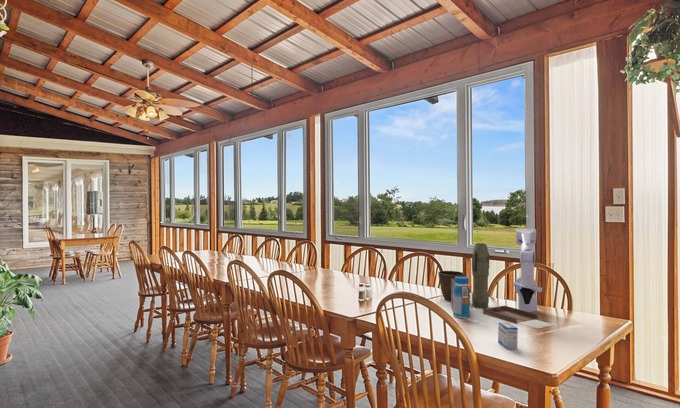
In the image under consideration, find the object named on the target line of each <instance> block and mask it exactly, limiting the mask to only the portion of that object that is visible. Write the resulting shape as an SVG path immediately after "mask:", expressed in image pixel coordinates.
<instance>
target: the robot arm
mask: <svg viewBox="0 0 680 408" xmlns="http://www.w3.org/2000/svg"><path fill="white" fill-rule="evenodd" d="M515 241H516V245H519V246H520V253H519V261H520V262H519V263H520V276H519V277H517V278H516V280H515V282H513V285H512V286H513V287H515V293H516V294H517V295H518V296H517V300H518V301H517V302H518V303H517V305H518V306H517V309H519V310H523V311H527V312H530V313H533V312H538V299H537V296H536V294H537V293H538V292H539V293H543V287H541V286H538V285H537V284H536V283H537V282H536V280H535V263H536V252H535V250H534V246H535V245H536V241H537V230H536V228H518V227H517V228H516V229H515Z"/></svg>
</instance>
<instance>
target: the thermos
mask: <svg viewBox="0 0 680 408" xmlns="http://www.w3.org/2000/svg"><path fill="white" fill-rule="evenodd" d="M488 250H489V249H488V246H487V244H486V243H479V242H477V243H474V247H473V252H472V253H471V271H472V272H471V273H472V294H471V303H472V304H471V306H472V308H475V309H482V310H483V309H486V308H489V302H490V295H489V290H488V289H489V276H490V252H489V251H488Z"/></svg>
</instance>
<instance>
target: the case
mask: <svg viewBox="0 0 680 408" xmlns="http://www.w3.org/2000/svg"><path fill="white" fill-rule="evenodd" d="M482 314H484V315H488V316H490V317H494V318H497V319H499V320H503V321H505V322H508V323H513V324H521V323H520V322H525V321H530V320H535V319H536V320H538V319H539V318H538V317H539V315H538V314H537V313H533V312H527V311H523V310H519V309H518V308H514V307H511V306H507V305H499V306H494V307H493V306H492V307H488V308H484V309H483V308H482Z"/></svg>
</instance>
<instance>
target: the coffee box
mask: <svg viewBox="0 0 680 408" xmlns="http://www.w3.org/2000/svg"><path fill="white" fill-rule="evenodd" d="M455 285H456V284H455V279H451V301H450V303H451V304H450V307H451V311H452V312H453V293H454V291H453V289H454V287H455Z"/></svg>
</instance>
